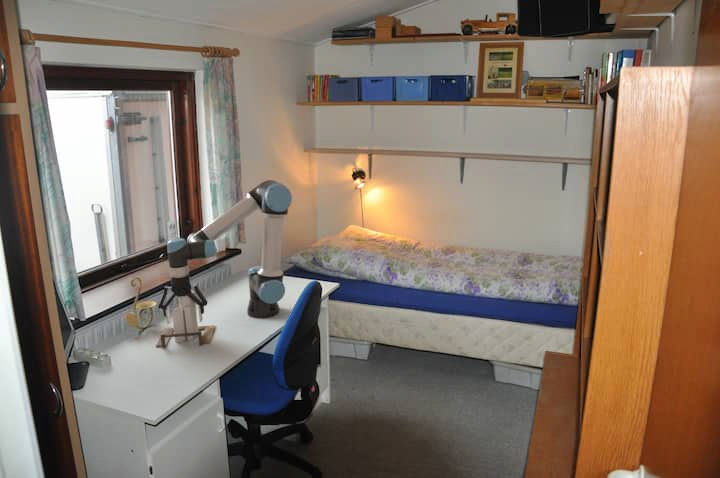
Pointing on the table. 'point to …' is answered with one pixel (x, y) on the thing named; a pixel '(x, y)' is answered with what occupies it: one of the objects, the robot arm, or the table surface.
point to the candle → (185, 318)
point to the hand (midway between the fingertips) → (185, 321)
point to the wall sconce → (132, 317)
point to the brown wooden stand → (202, 338)
